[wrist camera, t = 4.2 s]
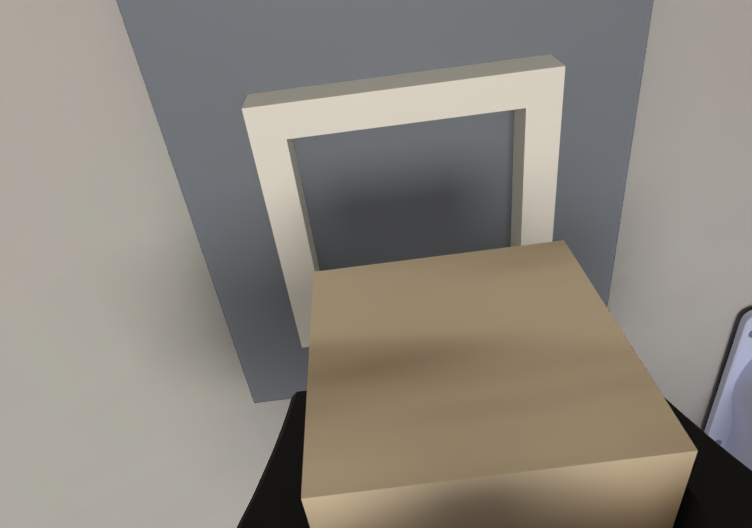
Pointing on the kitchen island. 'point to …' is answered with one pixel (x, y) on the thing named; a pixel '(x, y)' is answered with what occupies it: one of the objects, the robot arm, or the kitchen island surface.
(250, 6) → the slate baseplate
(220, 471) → the kitchen island surface
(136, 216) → the kitchen island surface
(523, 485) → the oak block
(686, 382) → the kitchen island surface
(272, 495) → the robot arm
